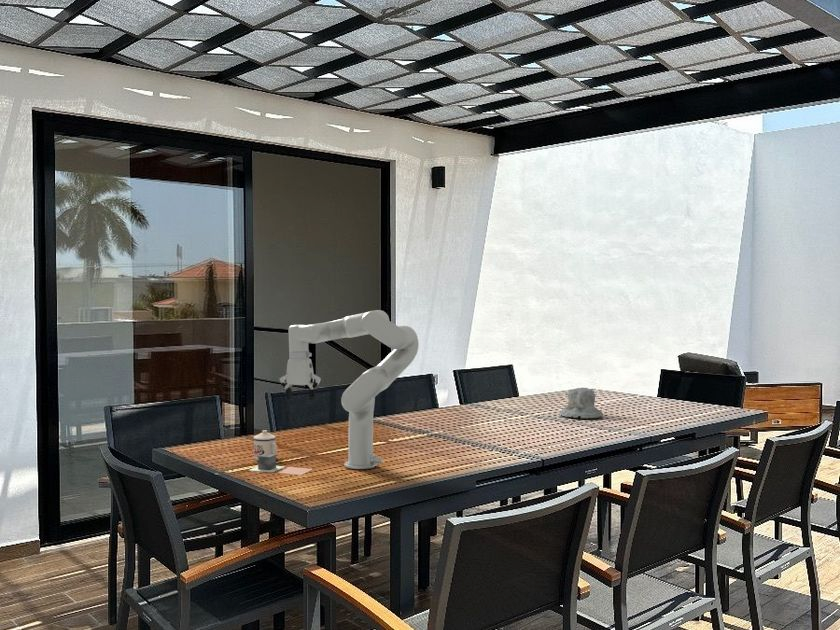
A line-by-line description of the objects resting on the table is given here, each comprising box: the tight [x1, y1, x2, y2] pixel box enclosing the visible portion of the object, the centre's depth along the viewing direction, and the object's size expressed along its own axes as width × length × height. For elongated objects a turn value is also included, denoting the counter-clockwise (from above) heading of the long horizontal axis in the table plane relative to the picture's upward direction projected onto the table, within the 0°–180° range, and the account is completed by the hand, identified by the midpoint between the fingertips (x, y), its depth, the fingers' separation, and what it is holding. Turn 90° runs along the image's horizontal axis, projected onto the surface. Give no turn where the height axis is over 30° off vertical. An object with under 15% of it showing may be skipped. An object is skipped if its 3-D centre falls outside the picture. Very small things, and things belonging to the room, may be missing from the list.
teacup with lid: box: [252, 429, 278, 461], centre depth 322 cm, size 12×9×12 cm
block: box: [257, 453, 277, 470], centre depth 305 cm, size 5×5×5 cm
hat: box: [559, 387, 604, 419], centre depth 435 cm, size 26×23×15 cm
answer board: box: [249, 465, 314, 476], centre depth 303 cm, size 22×10×1 cm, turn 72°
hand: (300, 399), depth 315 cm, fingers open, 9 cm apart
